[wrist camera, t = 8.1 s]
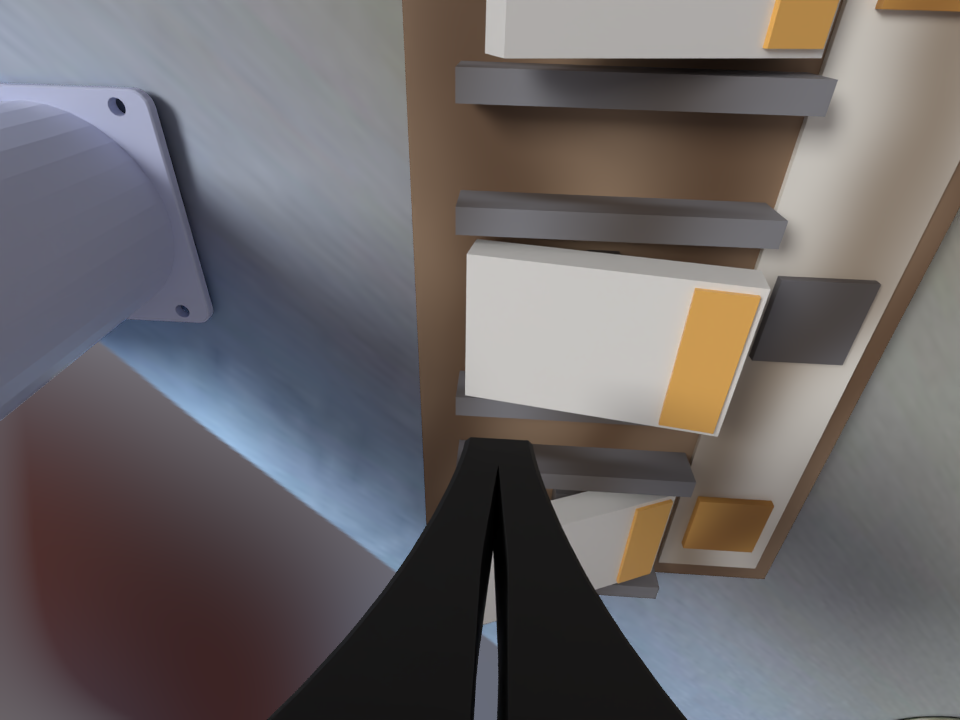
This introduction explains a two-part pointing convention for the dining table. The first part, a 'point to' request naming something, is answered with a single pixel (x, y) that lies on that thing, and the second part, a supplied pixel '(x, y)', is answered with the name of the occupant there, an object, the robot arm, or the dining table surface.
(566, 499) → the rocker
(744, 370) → the switch board
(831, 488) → the dining table surface
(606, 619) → the robot arm
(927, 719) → the coffee can
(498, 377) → the rocker middle
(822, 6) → the rocker
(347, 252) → the dining table surface
